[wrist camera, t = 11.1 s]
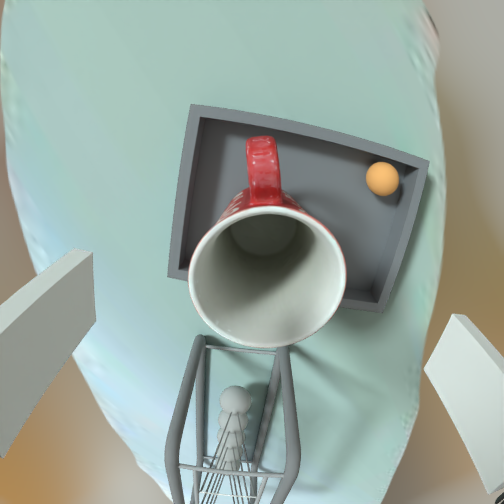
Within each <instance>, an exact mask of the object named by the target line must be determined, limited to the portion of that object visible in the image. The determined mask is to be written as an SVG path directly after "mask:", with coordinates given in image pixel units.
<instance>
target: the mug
mask: <svg viewBox="0 0 504 504" xmlns="http://www.w3.org/2000/svg"><path fill="white" fill-rule="evenodd" d="M246 158H247V171H248V181H249V187H248V188H246V189H244V190H242V191H241V192H239V193H238V194H237V195H236V196H235V197H234V198H233V199H232V201H231V202H230V203H229V205H228V207H227V208H226V209H225V211H224V212H223V214H222V215H221V217H220V218H219V220H218V221H217V222H216V224H215V225H214V226H213V227H212V228H211V229H210V230H209V231H208V232H207V233H206V234H205V235H204V236H203V237H202V239H201V240H200V242H199V243H198V245H197V247H196V248H195V251H194V253H193V255H192V258H191V261H190V265H189V271H188V287H189V292H190V296H191V299H192V302H193V304H194V306H195V308H196V310H197V312H198V314H199V315H200V316H201V318H202V319H203V320H204V322H205V323H206V324H207V325H208V326H209V327H210V328H211V329H213V330H214V331H215V332H217V333H218V334H219V335H221V336H223V337H224V338H226V339H228V340H230V341H233V342H235V343H238V344H241V345H245V346H249V347H255V348H276V347H282V346H287V345H291V344H294V343H297V342H299V341H301V340H304V339H306V338H307V337H309V336H311V335H313V334H314V333H316V332H317V331H318V330H319V329H321V328H322V327H323V326H324V325H325V324H326V323H327V322H328V321H329V320H330V319H331V317H332V316H333V315H334V313H335V312H336V310H337V309H338V307H339V305H340V303H341V301H342V298H343V295H344V291H345V288H346V281H347V269H346V262H345V257H344V254H343V251H342V249H341V247H340V245H339V243H338V241H337V240H336V238H335V237H334V235H333V234H332V233H331V231H330V230H329V229H328V228H327V227H326V226H325V225H323V224H322V223H321V222H320V221H318V220H317V219H315V218H314V217H312V216H310V215H309V214H308V213H307V212H306V211H305V210H304V209H303V208H302V207H301V206H300V205H299V204H298V203H297V202H296V201H295V200H294V199H293V198H292V197H291V196H290V195H289V194H288V193H287V192H285V191H283V190H282V188H281V174H280V165H279V157H278V151H277V144H276V141H275V139H274V138H273V137H272V136H257V137H251V138H249V139H247V140H246Z"/></svg>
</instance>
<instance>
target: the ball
mask: <svg viewBox="0 0 504 504" xmlns="http://www.w3.org/2000/svg"><path fill="white" fill-rule="evenodd" d="M366 183H367V185H368V187H369V189H370V190H371V191H372V192H373V193H375V194H376V195H379V196H387V195H390V194H392V193H393V192H394V191H395V190H396V189H397V187H398V184H399V175H398V172H397V170H396V169H395V168H394V167H393V166H392V165H391V164H389V163H386V162H377V163H375V164H373V165H372V166H370V168H369V169H368V171H367V174H366Z"/></svg>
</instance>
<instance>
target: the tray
mask: <svg viewBox="0 0 504 504" xmlns="http://www.w3.org/2000/svg"><path fill="white" fill-rule="evenodd" d="M257 136H272V137H273V138H274V139H275V141H276V144H277V151H278V157H279V165H280V174H281V188H282V190H283V191H285V192H287V193H288V194H289V195H290V196H291V197H292V198H293V199H294V200H295V201H296V202H297V203H298V204H299V205H300V206H301V207H302V208H303V209H304V210H305V211H306V212H307V213H308V214H309V215H310V216H312V217H314V218H315V219H317V220H318V221H320V222H321V223H322V224H323V225H325V226H326V227H327V228H328V229H329V230H330V231H331V233H332V234H333V235H334V237H335V238H336V240H337V241H338V243H339V245H340V247H341V249H342V251H343V254H344V257H345V262H346V269H347V281H346V288H345V291H344V295H343V298H342V301H341V303H340V305H339V307H343V308H349V309H357V310H364V311H371V312H378V313H383V311H384V308H385V306H386V303H387V301H388V298H389V296H390V293H391V290H392V288H393V285H394V282H395V279H396V277H397V274H398V271H399V268H400V265H401V262H402V259H403V256H404V253H405V250H406V247H407V244H408V241H409V238H410V235H411V231H412V228H413V225H414V221H415V218H416V214H417V211H418V207H419V203H420V200H421V196H422V192H423V188H424V184H425V180H426V176H427V171H428V167H429V162H430V161H428V160H425V159H422V158H420V157H417V156H414V155H411V154H408V153H405V152H403V151H400V150H397V149H394V148H391V147H388V146H385V145H381V144H378V143H375V142H372V141H369V140H365V139H362V138H358V137H355V136H351V135H348V134H344V133H341V132H337V131H333V130H329V129H325V128H321V127H317V126H313V125H309V124H305V123H300V122H296V121H291V120H287V119H282V118H277V117H272V116H267V115H262V114H256V113H250V112H245V111H238V110H232V109H226V108H219V107H211V106H204V105H195V104H191V105H190V110H189V116H188V121H187V127H186V132H185V138H184V144H183V151H182V157H181V163H180V170H179V177H178V184H177V191H176V199H175V207H174V215H173V224H172V233H171V243H170V253H169V264H168V275H167V277H169V278H174V279H179V280H184V281H188V271H189V265H190V261H191V258H192V255H193V253H194V251H195V248H196V247H197V245H198V243H199V242H200V240H201V239H202V237H203V236H204V235H205V234H206V233H207V232H208V231H209V230H210V229H211V228H212V227H213V226H214V225H215V224H216V222H217V221H218V220H219V218H220V217H221V215H222V214H223V212H224V211H225V209H226V208H227V207H228V205H229V203H230V202H231V201H232V199H233V198H234V197H235V196H236V195H237V194H238V193H239V192H241V191H242V190H244V189H246V188H248V187H249V181H248V171H247V158H246V140H247V139H249V138H251V137H257ZM377 162H386V163H389V164H391V165H392V166H393V167H394V168H395V169H396V170H397V172H398V175H399V184H398V187H397V189H396V190H395V191H394V192H393V193H392V194H390V195H387V196H379V195H376V194H375V193H373V192H372V191H371V190H370V189H369V187H368V185H367V183H366V174H367V171H368V169H369V168H370V166H372V165H373V164H375V163H377Z"/></svg>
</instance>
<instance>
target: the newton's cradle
mask: <svg viewBox="0 0 504 504" xmlns="http://www.w3.org/2000/svg"><path fill="white" fill-rule="evenodd" d="M206 348H212V349H220V350H228V351H237V352H247V353H257V354H269V355H275V359H274V364H273V369H272V374H271V379H270V384H269V389H268V393H267V398H266V403H265V407H264V412H263V416H262V421H261V425H260V430H259V434H258V439H257V443H256V447H255V451H254V456H253V460H252V461H248V459H247V454H246V449H245V444H244V441H245V433H244V431H243V430H244V429H245V428H246V426H247V424H248V416H247V414H246V412H247V411H248V410H249V408H250V406H251V396H250V394H249V392H248V391H247V390H246V389H245V388H243V387H241V386H230V387H228V388H226V389H225V390H224V391H223V392H222V393H221V395H220V406H221V408H222V409H223V410H222V411H221V413H220V414H219V417H218V423H219V425H220V427H221V428H220V429H219V431H218V434H217V439H218V442H219V444H218V446H217V448H216V452H215V455H214V457H206V456H204V385H205V354H206ZM280 375H281V384H282V397H283V410H284V423H285V437H286V466H285V471H284V473H262V472H257V470H258V463H259V459H260V456H261V452H262V448H263V444H264V441H265V437H266V433H267V429H268V425H269V421H270V417H271V413H272V409H273V405H274V401H275V397H276V392H277V388H278V384H279V380H280ZM195 378H196V441H197V464H196V466H192V465H186V464H180V463H179V450H180V443H181V438H182V433H183V429H184V425H185V420H186V416H187V412H188V407H189V403H190V399H191V395H192V391H193V386H194V382H195ZM242 444H243V447H244V452H245V457H246V461H244V460H241V456H242V453H243V450H242V446H241V445H242ZM216 454H217V456H218V458H215V456H216ZM203 458H205V459H213V460H212V462H211V465H210V468H206V467H203ZM214 460H216V463H215V465H216V467H215V469H214V468H211V467H212V464H213V462H214ZM300 461H301V447H300V438H299V429H298V420H297V412H296V403H295V395H294V387H293V378H292V370H291V362H290V355H289V348H288V346H282V347H277V350H276V352H272V351H261V350H250V349H240V348H231V347H222V346H214V345H206V339H205V337H204V336H203V335H197V336H196V337H195V340H194V343H193V346H192V349H191V353H190V356H189V360H188V363H187V367H186V370H185V374H184V377H183V381H182V384H181V388H180V391H179V395H178V398H177V402H176V405H175V409H174V413H173V416H172V420H171V423H170V427H169V431H168V435H167V439H166V445H165V467H166V472H167V477H168V481H169V486H170V490H171V494H172V499H173V503H174V504H185V502H184V496H183V489H182V482H181V475H180V468H183V469H189V470H193V482H194V483H193V489H192V495H191V501H190V504H199V492H201V493H205V495H204V498H203V500H202V503H201V504H203V502H204V499H205V497H206V494H207V492H208V489H209V486H210V484H211V481H212V478H213V476H214V473H217V476H216V478H215V481H214V484H213V487H212V489H211V492H210V493H208V494H209V497H208V500H207V502H206V504H208V501H209V498H210V496H211V494H213V497H214V495H215V492H216V489H217V486H218V484H219V481H220V478H221V475H222V474H223V478H224V476H225V475H229V479H230V485H231V490H232V484H231V478H230V475H233V479H234V485H235V491H236V495H233V490H232V495H226V496H233V502H234V504H235V501H234V496H237V502H238V504H239V500H238V497H241V499H242V504H244V502H243V497H247V500H248V504H259V501H260V499H261V496H262V493H263V491H264V488H265V485H266V482H267V480H268V477H281V481H280V483H279V485H278V488H277V490H276V492H275V494H274V497H273V499H272V501H271V503H270V504H283V503H284V501H285V499H286V497H287V495H288V494H289V492H290V490H291V488H292V486H293V484H294V482H295V480H296V478H297V476H298V473H299V468H300ZM241 462H243V463H247V467H248V471H249V472H245V471H243V468H242V463H241ZM248 463H252V465H251V472H250V468H249V464H248ZM240 465H241V470H242V471H238V470H239V468H240ZM202 471H203V472H208V473H207V475H206V478H205V480H204V483H203V485H202V488H201V490H200V491H199V489H200V482H201V476H202ZM209 472H210V473H213V474H212V477H211V480H210V482H209V485H208V487H207V490H206V492H202V490H203V487H204V485H205V482H206V480H207V477H208V475H209ZM218 474H221V475H220V478H219V480H218V483H217V486H216V489H215V491H214V493H212V490H213V488H214V485H215V482H216V479H217V477H218ZM234 475H237V477H238V483H239V488H240V493H241V496H238V495H237V490H236V484H235V478H234ZM238 475H239V476H243V480H244V485H245V490H246V495H247V496H242V492H241V486H240V481H239V476H238ZM244 476H250V496H248V493H247V488H246V483H245V478H244ZM257 477H263V479H262V482H261V485H260V488H259V491H258V494H257ZM223 478H222V481H223ZM222 481H221V484H222ZM221 484H220V486H219V489H218V492H219V490H220V487H221ZM218 492H217V494H216V497H215V500H214V503H215V501H216V498H217V495H225V494H218ZM213 497H212V499H211V502H210V504H211V503H212V500H213ZM248 497H250V502H249V498H248ZM214 503H213V504H214Z"/></svg>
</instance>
